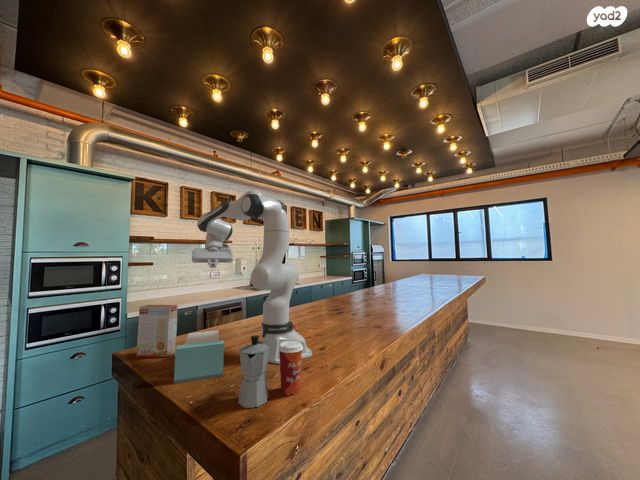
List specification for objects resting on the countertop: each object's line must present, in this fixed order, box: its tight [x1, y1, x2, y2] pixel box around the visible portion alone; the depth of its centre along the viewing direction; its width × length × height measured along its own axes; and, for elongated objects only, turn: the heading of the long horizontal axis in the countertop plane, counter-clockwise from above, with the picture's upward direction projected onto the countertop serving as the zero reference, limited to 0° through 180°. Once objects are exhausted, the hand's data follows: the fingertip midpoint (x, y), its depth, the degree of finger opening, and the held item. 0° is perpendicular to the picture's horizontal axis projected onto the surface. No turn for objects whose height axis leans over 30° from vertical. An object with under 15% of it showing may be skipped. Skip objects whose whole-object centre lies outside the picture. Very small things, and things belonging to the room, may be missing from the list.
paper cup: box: [278, 341, 303, 395], centre depth 78 cm, size 8×8×14 cm
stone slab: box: [183, 330, 220, 345], centre depth 100 cm, size 12×22×4 cm, turn 23°
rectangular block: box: [173, 339, 225, 385], centre depth 103 cm, size 15×39×11 cm, turn 23°
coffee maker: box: [237, 334, 270, 409], centre depth 73 cm, size 15×9×18 cm, turn 5°
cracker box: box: [135, 304, 179, 358], centre depth 108 cm, size 14×6×21 cm, turn 84°
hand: (212, 266), depth 128 cm, fingers closed
